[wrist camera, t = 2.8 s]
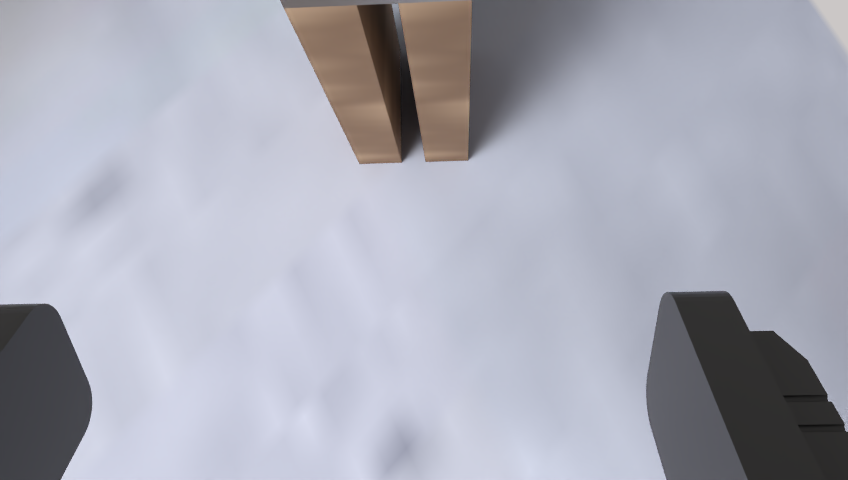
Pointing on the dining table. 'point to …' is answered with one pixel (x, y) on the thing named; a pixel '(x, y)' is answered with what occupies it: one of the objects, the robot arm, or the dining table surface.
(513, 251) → the dining table surface
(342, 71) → the brown wooden slotted block
